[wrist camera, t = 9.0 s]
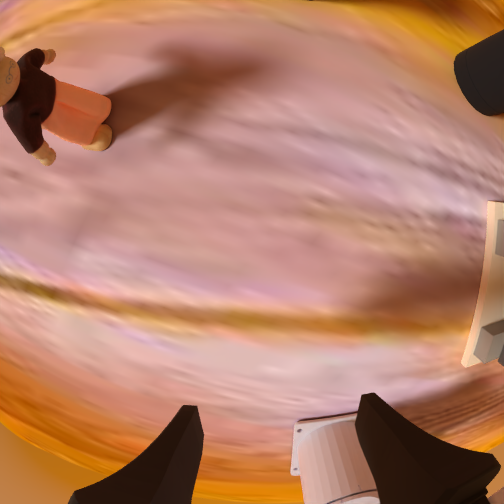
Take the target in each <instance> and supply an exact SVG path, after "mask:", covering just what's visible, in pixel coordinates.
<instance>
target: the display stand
mask: <svg viewBox="0 0 504 504" xmlns="http://www.w3.org/2000/svg"><path fill="white" fill-rule="evenodd" d="M503 345H504V202H494V201H488V210H487V231H486V244H485V254H484V262H483V270H482V277H481V283H480V289H479V294H478V299H477V304H476V309H475V314H474V318H473V322H472V326H471V330H470V334H469V337H468V341H467V345H466V348H465V351H464V354H463V358H462V361H461V364H462V365H463V366H464V367H465V368H467V367H470V366H472V365H475V364H478V363H480V362H483V363H484V364H485V363H488V362H490V361H492V360H495V359H497V358H499V356H500V354H501V351H502V348H503Z"/></svg>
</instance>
